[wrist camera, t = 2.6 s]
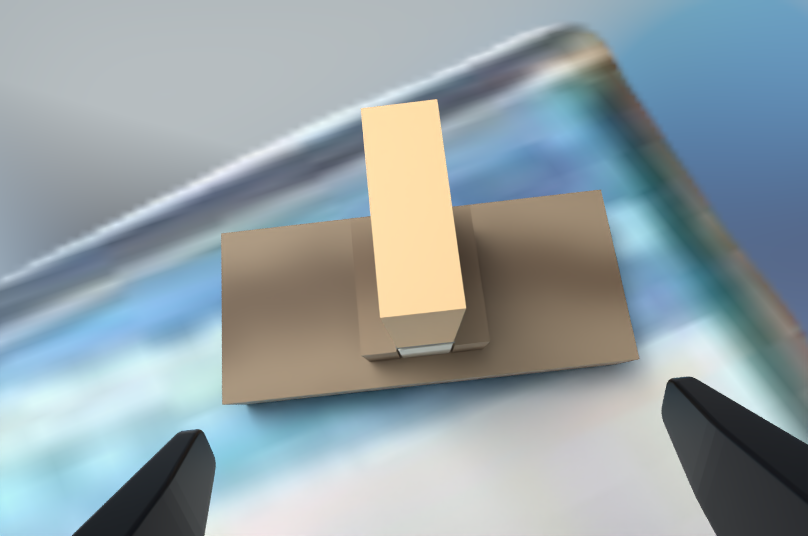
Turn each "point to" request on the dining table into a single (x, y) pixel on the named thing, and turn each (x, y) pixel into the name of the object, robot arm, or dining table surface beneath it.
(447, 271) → the stub
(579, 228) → the stand
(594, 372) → the dining table surface
